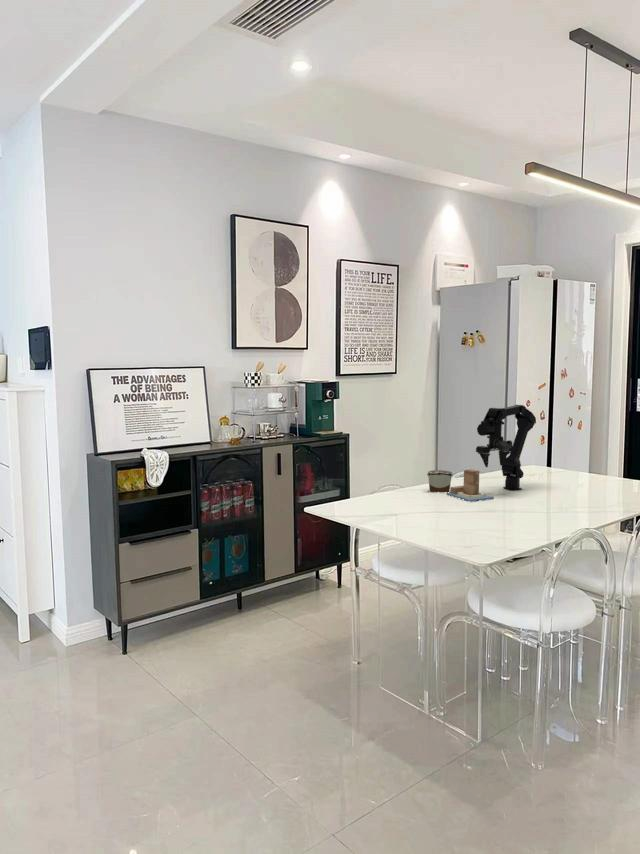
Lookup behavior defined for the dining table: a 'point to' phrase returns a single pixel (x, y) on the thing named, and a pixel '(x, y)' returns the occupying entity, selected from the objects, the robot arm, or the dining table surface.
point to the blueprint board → (458, 493)
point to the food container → (439, 480)
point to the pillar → (471, 482)
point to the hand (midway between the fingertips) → (494, 466)
